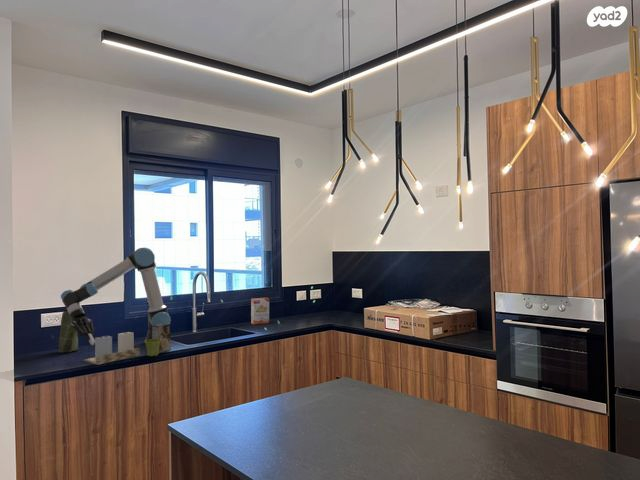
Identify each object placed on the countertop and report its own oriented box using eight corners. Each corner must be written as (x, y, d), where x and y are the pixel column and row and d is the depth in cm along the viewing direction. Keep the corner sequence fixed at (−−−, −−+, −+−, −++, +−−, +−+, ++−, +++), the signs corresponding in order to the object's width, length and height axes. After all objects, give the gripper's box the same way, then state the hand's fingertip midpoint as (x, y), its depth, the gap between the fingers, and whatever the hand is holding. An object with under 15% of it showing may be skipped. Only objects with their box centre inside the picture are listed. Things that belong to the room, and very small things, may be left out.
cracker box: (253, 324, 377) (253, 299, 377) (251, 323, 382) (250, 298, 382) (269, 323, 384) (269, 297, 384) (266, 322, 389) (266, 297, 389)
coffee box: (163, 348, 292) (163, 323, 293) (170, 349, 289) (170, 324, 290) (151, 351, 284) (151, 325, 285) (159, 353, 281) (159, 326, 282)
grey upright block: (106, 356, 266) (106, 335, 266) (112, 357, 264) (111, 336, 264) (95, 359, 261) (95, 337, 261) (100, 360, 258) (100, 338, 258)
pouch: (61, 350, 291) (60, 310, 291) (82, 349, 294) (81, 309, 294) (55, 354, 280) (55, 312, 281) (77, 353, 283) (77, 311, 284)
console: (125, 352, 284) (125, 345, 284) (139, 355, 276) (139, 348, 276) (83, 361, 262) (83, 354, 262) (98, 364, 255) (98, 357, 255)
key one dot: (128, 352, 278) (128, 331, 278) (133, 352, 275) (133, 332, 275) (118, 354, 272) (117, 333, 272) (123, 355, 269) (123, 334, 270)
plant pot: (155, 357, 270) (155, 342, 270) (141, 356, 272) (141, 341, 272) (164, 353, 279) (164, 339, 280) (150, 353, 281) (150, 338, 281)
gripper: (84, 315, 284) (101, 345, 275) (63, 318, 273) (79, 349, 264) (89, 307, 281) (106, 337, 272) (68, 309, 270) (85, 341, 261)
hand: (93, 343), depth 268 cm, fingers closed
